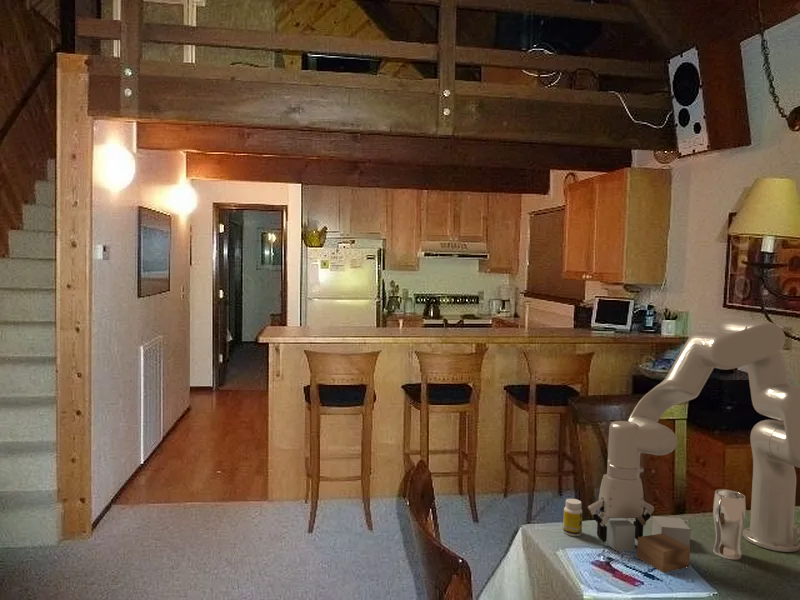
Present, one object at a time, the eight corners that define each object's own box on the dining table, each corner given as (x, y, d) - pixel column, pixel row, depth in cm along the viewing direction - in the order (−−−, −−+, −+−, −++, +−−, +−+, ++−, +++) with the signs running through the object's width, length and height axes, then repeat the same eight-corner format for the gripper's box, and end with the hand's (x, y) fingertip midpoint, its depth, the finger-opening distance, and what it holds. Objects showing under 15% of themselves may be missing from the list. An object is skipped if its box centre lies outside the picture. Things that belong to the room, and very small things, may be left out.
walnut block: (662, 553, 143) (663, 533, 143) (689, 568, 135) (690, 547, 135) (636, 557, 140) (637, 537, 140) (662, 573, 132) (663, 551, 132)
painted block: (623, 541, 148) (624, 518, 148) (634, 550, 143) (635, 526, 143) (605, 541, 148) (606, 518, 148) (615, 550, 143) (616, 526, 143)
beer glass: (739, 550, 145) (742, 491, 145) (746, 563, 139) (749, 500, 138) (708, 545, 147) (711, 487, 147) (713, 557, 141) (716, 496, 140)
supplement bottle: (582, 537, 150) (583, 505, 149) (563, 535, 150) (565, 503, 150) (580, 530, 154) (581, 498, 154) (562, 528, 155) (563, 497, 155)
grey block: (679, 536, 153) (680, 518, 153) (689, 548, 146) (690, 529, 146) (651, 534, 153) (652, 516, 153) (660, 546, 146) (661, 526, 146)
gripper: (647, 466, 150) (643, 532, 150) (583, 466, 148) (580, 533, 148) (663, 476, 143) (660, 545, 143) (597, 476, 140) (594, 546, 141)
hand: (619, 539), depth 146 cm, fingers open, 9 cm apart
